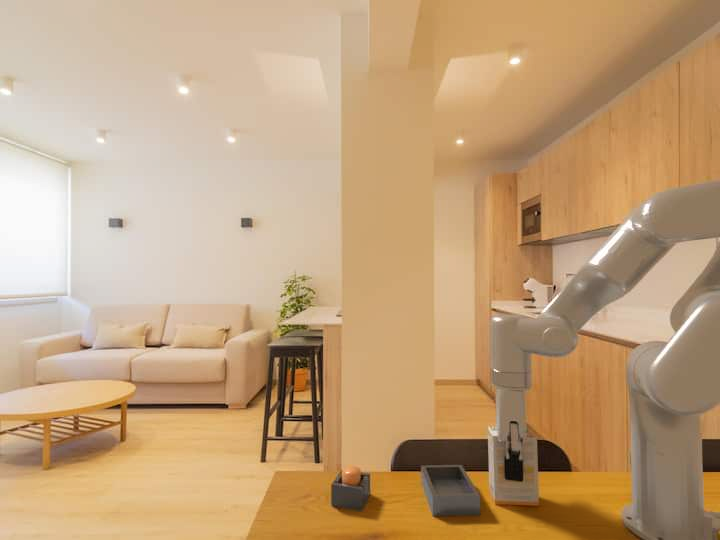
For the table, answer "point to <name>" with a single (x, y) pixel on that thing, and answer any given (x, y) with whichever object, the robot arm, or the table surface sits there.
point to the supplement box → (508, 489)
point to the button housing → (350, 493)
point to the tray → (449, 490)
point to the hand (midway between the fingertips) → (512, 471)
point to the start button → (351, 476)
